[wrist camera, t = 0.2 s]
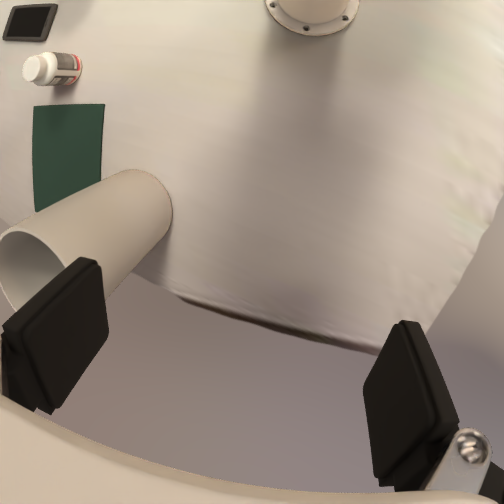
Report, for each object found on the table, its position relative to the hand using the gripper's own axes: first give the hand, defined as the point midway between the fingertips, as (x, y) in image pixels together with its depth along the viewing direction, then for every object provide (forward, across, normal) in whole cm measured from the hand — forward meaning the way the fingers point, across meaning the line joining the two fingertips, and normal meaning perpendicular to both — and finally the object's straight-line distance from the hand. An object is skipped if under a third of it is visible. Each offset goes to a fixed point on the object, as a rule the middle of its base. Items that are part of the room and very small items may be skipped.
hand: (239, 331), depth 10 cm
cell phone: (+37, +49, -22) cm, 65 cm away
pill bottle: (+37, +36, -11) cm, 53 cm away
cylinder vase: (+37, +21, +11) cm, 44 cm away
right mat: (+37, +36, +5) cm, 52 cm away
